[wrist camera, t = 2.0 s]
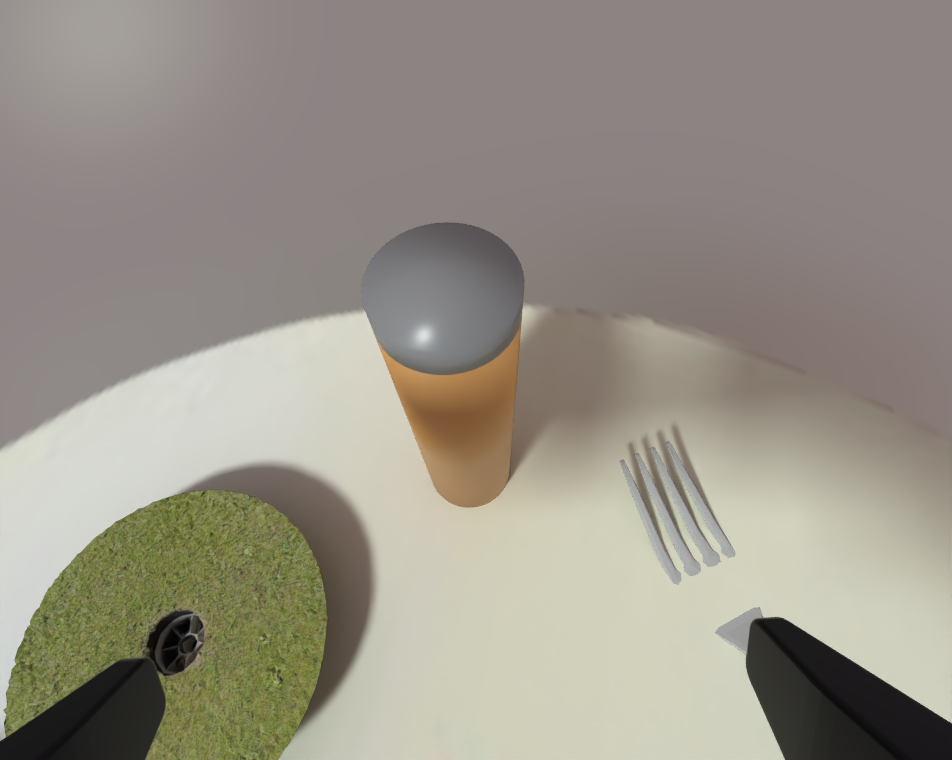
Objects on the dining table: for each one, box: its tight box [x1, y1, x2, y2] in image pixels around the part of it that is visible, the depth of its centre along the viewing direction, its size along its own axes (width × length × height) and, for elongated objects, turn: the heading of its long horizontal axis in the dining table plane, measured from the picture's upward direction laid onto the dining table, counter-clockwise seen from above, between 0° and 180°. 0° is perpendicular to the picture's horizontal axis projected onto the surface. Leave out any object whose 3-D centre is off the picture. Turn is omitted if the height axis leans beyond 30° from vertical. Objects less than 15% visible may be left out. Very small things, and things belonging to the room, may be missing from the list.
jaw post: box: [361, 223, 524, 507], centre depth 17 cm, size 4×4×13 cm
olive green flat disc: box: [4, 489, 328, 760], centre depth 18 cm, size 11×11×2 cm
